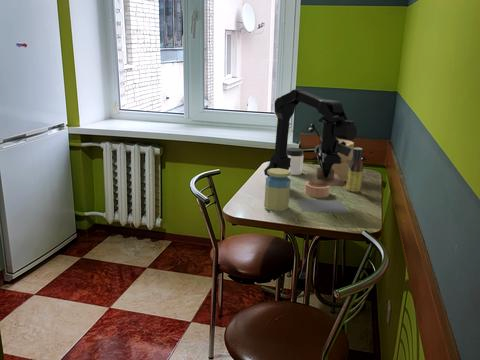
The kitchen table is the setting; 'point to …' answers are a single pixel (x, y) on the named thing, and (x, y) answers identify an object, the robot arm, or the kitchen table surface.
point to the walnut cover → (324, 178)
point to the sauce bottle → (355, 171)
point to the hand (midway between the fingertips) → (324, 176)
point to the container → (343, 162)
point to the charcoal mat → (322, 206)
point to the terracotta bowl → (316, 190)
